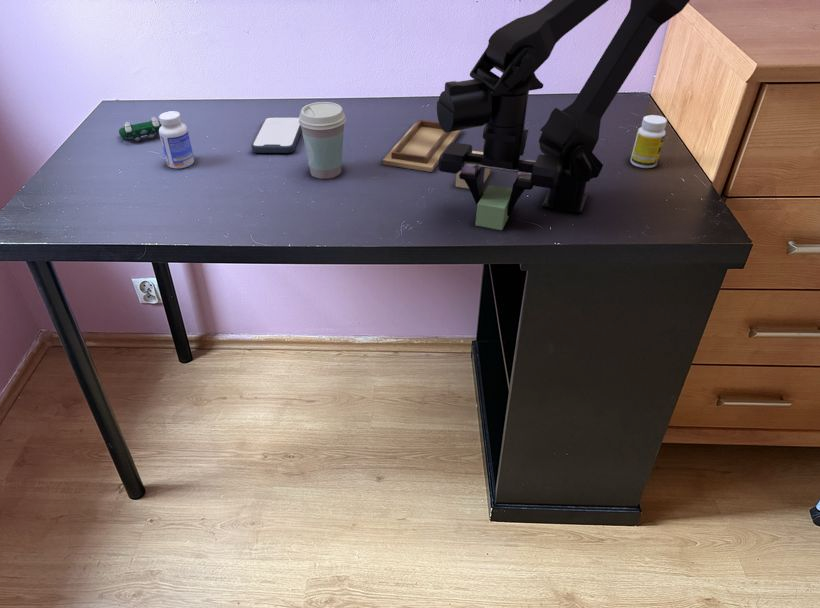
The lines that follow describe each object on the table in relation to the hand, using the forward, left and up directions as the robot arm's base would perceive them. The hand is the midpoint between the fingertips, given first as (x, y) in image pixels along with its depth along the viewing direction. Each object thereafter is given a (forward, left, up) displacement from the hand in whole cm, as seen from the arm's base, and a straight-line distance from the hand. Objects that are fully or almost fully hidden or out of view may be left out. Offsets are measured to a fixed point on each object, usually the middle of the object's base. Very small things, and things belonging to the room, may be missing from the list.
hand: (494, 212), depth 110 cm
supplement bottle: (+29, -21, -1) cm, 36 cm away
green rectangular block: (0, 0, -1) cm, 1 cm away
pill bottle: (0, +63, -1) cm, 63 cm away
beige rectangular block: (+12, +7, -1) cm, 14 cm away
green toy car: (+8, +78, -1) cm, 78 cm away
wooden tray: (+22, +20, -1) cm, 30 cm away
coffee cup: (+6, +34, -1) cm, 35 cm away
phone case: (+17, +50, -1) cm, 53 cm away
